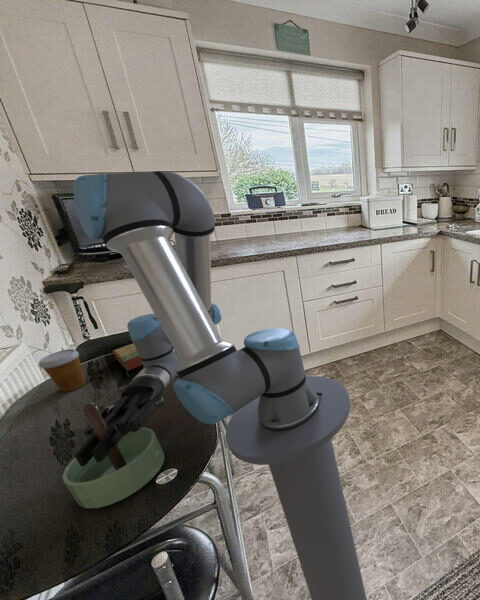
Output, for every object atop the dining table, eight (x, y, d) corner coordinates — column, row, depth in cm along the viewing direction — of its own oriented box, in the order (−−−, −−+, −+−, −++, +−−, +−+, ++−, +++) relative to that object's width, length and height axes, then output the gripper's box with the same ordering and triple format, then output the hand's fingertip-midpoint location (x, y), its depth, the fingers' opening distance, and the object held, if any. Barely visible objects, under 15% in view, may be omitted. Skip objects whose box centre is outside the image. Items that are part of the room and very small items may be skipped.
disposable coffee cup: (59, 397, 105) (41, 365, 101) (51, 390, 110) (33, 359, 106) (96, 381, 113) (81, 351, 108) (87, 375, 118) (72, 346, 113)
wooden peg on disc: (146, 457, 75) (112, 388, 68) (144, 477, 69) (107, 405, 63) (107, 473, 71) (68, 402, 65) (102, 496, 66) (58, 421, 59)
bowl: (166, 440, 81) (155, 418, 79) (164, 482, 69) (152, 457, 67) (87, 472, 74) (73, 449, 72) (69, 526, 62) (52, 499, 59)
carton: (141, 350, 133) (137, 341, 131) (154, 360, 123) (150, 350, 122) (116, 360, 127) (111, 350, 125) (127, 371, 117) (123, 361, 116)
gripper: (183, 393, 86) (140, 462, 64) (119, 407, 83) (51, 484, 62) (174, 369, 83) (125, 433, 62) (107, 382, 80) (31, 454, 59)
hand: (88, 458), depth 62 cm, fingers closed on wooden peg on disc, 2 cm apart
